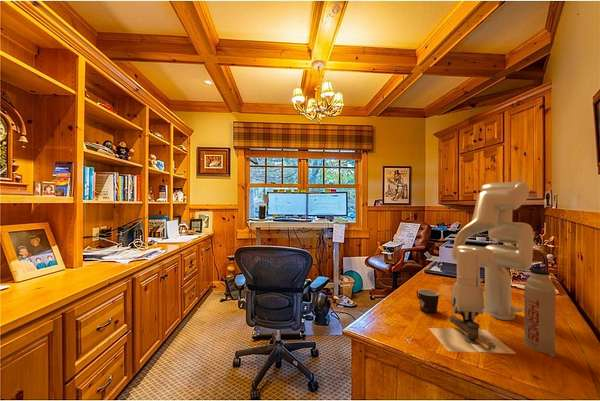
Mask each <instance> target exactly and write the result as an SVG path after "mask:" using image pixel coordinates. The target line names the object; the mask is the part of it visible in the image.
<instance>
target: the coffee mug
mask: <svg viewBox="0 0 600 401" xmlns="http://www.w3.org/2000/svg"><path fill="white" fill-rule="evenodd" d="M416 296H417V299H418V300H419V308H420V311H421V312H422V313H424V314H427V315H436V314H437V313H438V307H439V306H438V304H439V298H440V293H439V292H438V291H436V290H433V289H428V288H421V289H418V290H416Z"/></svg>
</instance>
